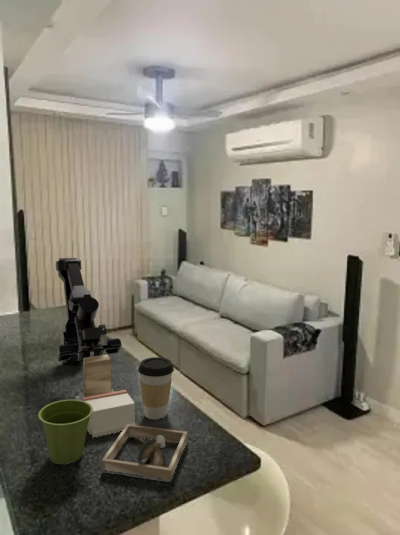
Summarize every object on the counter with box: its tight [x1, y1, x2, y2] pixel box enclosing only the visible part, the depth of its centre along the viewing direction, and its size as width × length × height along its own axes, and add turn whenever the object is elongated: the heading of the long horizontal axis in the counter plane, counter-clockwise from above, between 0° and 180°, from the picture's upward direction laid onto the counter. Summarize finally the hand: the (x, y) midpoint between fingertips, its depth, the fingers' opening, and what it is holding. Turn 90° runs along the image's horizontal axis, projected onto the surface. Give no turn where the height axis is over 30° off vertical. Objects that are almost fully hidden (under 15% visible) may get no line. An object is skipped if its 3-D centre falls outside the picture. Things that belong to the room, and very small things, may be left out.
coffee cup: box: [137, 356, 175, 420], centre depth 117 cm, size 10×10×15 cm
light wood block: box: [82, 354, 112, 397], centre depth 123 cm, size 5×7×12 cm, turn 117°
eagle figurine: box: [136, 435, 166, 467], centre depth 95 cm, size 8×7×9 cm
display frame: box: [101, 424, 188, 480], centre depth 98 cm, size 16×16×3 cm
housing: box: [75, 386, 136, 439], centre depth 117 cm, size 22×12×6 cm, turn 27°
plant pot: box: [37, 399, 93, 465], centre depth 96 cm, size 12×12×11 cm
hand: (94, 374), depth 125 cm, fingers closed
